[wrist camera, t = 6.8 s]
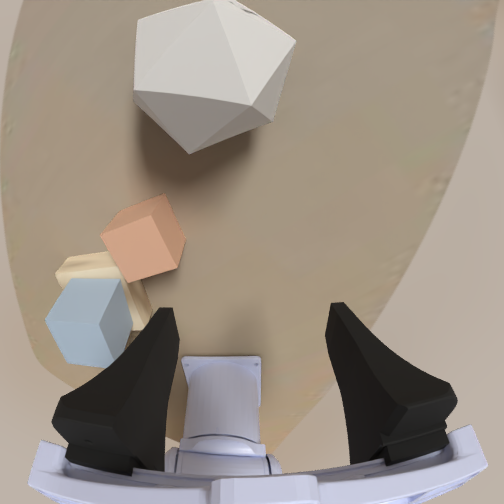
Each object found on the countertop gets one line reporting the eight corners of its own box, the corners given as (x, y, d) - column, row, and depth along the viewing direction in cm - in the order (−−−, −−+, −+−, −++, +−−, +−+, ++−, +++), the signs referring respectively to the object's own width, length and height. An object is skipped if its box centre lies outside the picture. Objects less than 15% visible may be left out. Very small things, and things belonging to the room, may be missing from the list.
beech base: (153, 307, 27) (146, 329, 25) (95, 311, 27) (84, 332, 25) (131, 245, 24) (119, 265, 21) (69, 255, 24) (54, 274, 22)
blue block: (133, 323, 24) (118, 369, 20) (87, 320, 24) (67, 363, 20) (120, 278, 22) (98, 324, 18) (71, 278, 22) (44, 319, 17)
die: (293, 117, 20) (349, 19, 10) (198, 199, 18) (195, 111, 9) (212, 51, 20) (223, -52, 10) (117, 117, 18) (75, 14, 8)
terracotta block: (186, 239, 24) (177, 267, 20) (142, 254, 24) (127, 282, 21) (165, 192, 22) (150, 214, 18) (119, 210, 22) (100, 235, 19)
